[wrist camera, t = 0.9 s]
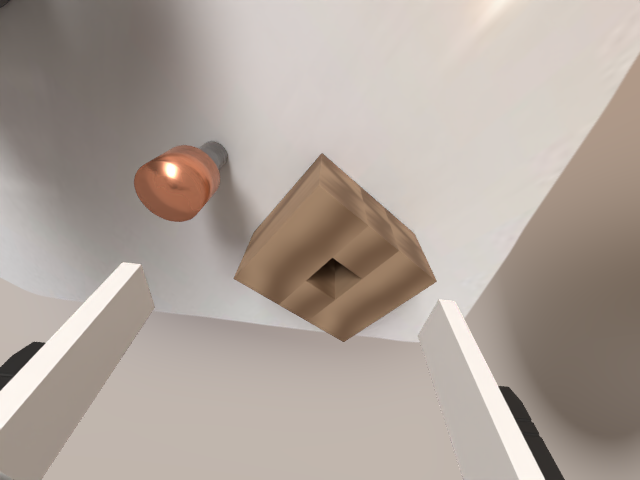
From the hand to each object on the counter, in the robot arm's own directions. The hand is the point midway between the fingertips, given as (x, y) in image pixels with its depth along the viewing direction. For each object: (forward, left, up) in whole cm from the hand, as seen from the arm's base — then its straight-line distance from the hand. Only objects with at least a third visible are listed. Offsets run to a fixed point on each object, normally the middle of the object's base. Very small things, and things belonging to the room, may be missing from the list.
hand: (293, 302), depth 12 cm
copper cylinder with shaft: (-9, -7, -22) cm, 24 cm away
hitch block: (+8, -6, -22) cm, 24 cm away
